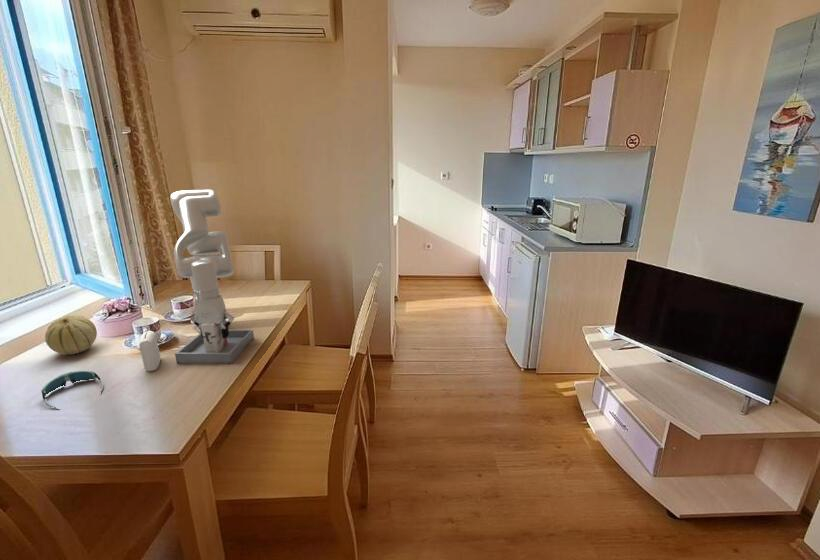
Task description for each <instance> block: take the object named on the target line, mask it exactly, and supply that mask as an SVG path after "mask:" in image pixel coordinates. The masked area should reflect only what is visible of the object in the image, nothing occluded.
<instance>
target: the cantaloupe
mask: <svg viewBox="0 0 820 560" xmlns="http://www.w3.org/2000/svg"><path fill="white" fill-rule="evenodd" d="M97 333H98V330H97V327H96V325H95V324H94V322H93V321H91V320H90V319H89V318H87V317H85V316H82V315H76V314H73V315H66V316H62V317H59V318H57V319H55V320H54V321H53V322H51V323H50V325H49V326H48V328H47V330H46V332H45V334H44V336H45V337H44V339H45V341H44V342H45V343H46V345H47V347H48V348H49V349H51V350H52V351H53V352H55V353H56V354H57V353H58V354H61V355H66V354H70V355H75V353H77V354H79V352H80V353H82V351H83V352H84V350H85V351H87V350H88V349H89V348H90V347H91V346H92V345H93V344H94V343H95V341H96V339H97V335H98V334H97Z"/></svg>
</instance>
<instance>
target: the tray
mask: <svg viewBox="0 0 820 560" xmlns="http://www.w3.org/2000/svg"><path fill="white" fill-rule="evenodd" d="M228 331H229V335H228V336H227V342H228V343H227V344H226V345H225V346H224V347H223V348H222V349H221V350H220V351H219V353H206V350H205V345H204V340H203V338H202V335H201V332H199V334H197V335H196V336H195V337H193V338H192V339H191V340H190V341H188V343H186V344H185V345H184V346H182V347H181V348H180V349H179V350H177V351H176V352H174V356H175V357H174V358H175V360H176V364H185V365H186V364H189V365H190V364H196V365H197V364H201V365H203V364H206V365H207V364H208V365H209V364H213V365H218V364H219V365H223V364H224V365H232V364H233V363H234V362H235V361H236V360H237V359H238V357H239V356H240V355H241V354H242V353H243V352H244V351H245V350H246V348H247V347H248V346H249V345H250V344H251V343H252V342H253V341H254V340H255V336H254V329H228Z"/></svg>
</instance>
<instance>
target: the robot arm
mask: <svg viewBox="0 0 820 560" xmlns="http://www.w3.org/2000/svg"><path fill="white" fill-rule="evenodd" d="M217 194H218V193H216V191H215V190H213V189H190V190H189V189H186V190H178V191H175V192H173V193H171V194H170V197H169V199H170V203H171V208H172V209H173V212H174V214H175V215H176V217H177V219H178V220H179V221H180V223H181V225H182V231H183V234H181V236H180V237H179V238H178V239H177V241H176V243H175V244H174V248H173V256H174V257H173V258H174V264H175V269H176V273H177V274H178V276H179V277H180V278H184V279H187V278H189V280H190V284H191V288H192V294H193V297H194V305H193V306H194V307H193V308H194V310H193V311H194V314H193V315H192V316H191V317H190V318H189V320H190V324H191V325H195V329H196V332H198V333H201V335H202V330H201V325H202V324H205V323H215V324H220V325H221V327H222V328H223V329H222V330H221V331H222V337H223V339H225V338H226V337H227V336H228V335H229V331H228V330H229V326H230V325H231V324H232V322H233V321H234V320H235V316H233V315H232V314H230V313H229V312H227V307H226V304H225V300H224V299H223V296H222V294H220V289H219V283H218V278H225V277H231V276H232V275H233V274H234V271H235V267H234V261H233V258H232V257H233V256H232V252H231V247H230V243H229V240H228V237H227V234H226V233H225V232H224V231H220V230H218V231H217V230H215V231H209V228H208V223H207V218H211V217H212V218H213V217H219V216H220V215H221V212H222V207H221V201H220V199H219V197H218V195H217ZM186 249H187V251H188V253H189V254H190V255H191V256H185V257H183V256H184V255H183V253H184V251H185V250H186ZM214 254H217V255H214ZM227 319H228V320H227ZM202 338H203V335H202Z"/></svg>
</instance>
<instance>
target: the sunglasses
mask: <svg viewBox="0 0 820 560" xmlns="http://www.w3.org/2000/svg"><path fill="white" fill-rule="evenodd" d="M89 379H94V380H95V381H96V380H98V381H99V383H100V384H101V389H100V392H102V393H103V391H104V382H103V380H102V379H101V377H100V376H99V375H98V374H97V373H96V371H93V370H86V369H85V370H84V369H83V370H76V371H75V370H73V371H69V372H66V373H63V374H61V375H58V376H56V377H54V378H53V379H51V380H49V381H48V382H47V383H46V384H45V385H43V387H42V388H41V390H40V391H41V395H42V399H43V401H44V402H45V405H47V406H48V407H49V406H50V407H49V408H51V407H54V408H56V407H57V406H54V405H52V404H51V403H49V402H48V400H47V398H45V396H46V394H48V393H49V392H51V391H53V390H55V389H56V388H58V387H60V386H63V385H64V386H65V387H66V386H67V382H71V383H72V384H73V383H74V382H76V381H80V380H89ZM102 390H103V391H102ZM54 408H53V409H54Z"/></svg>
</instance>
